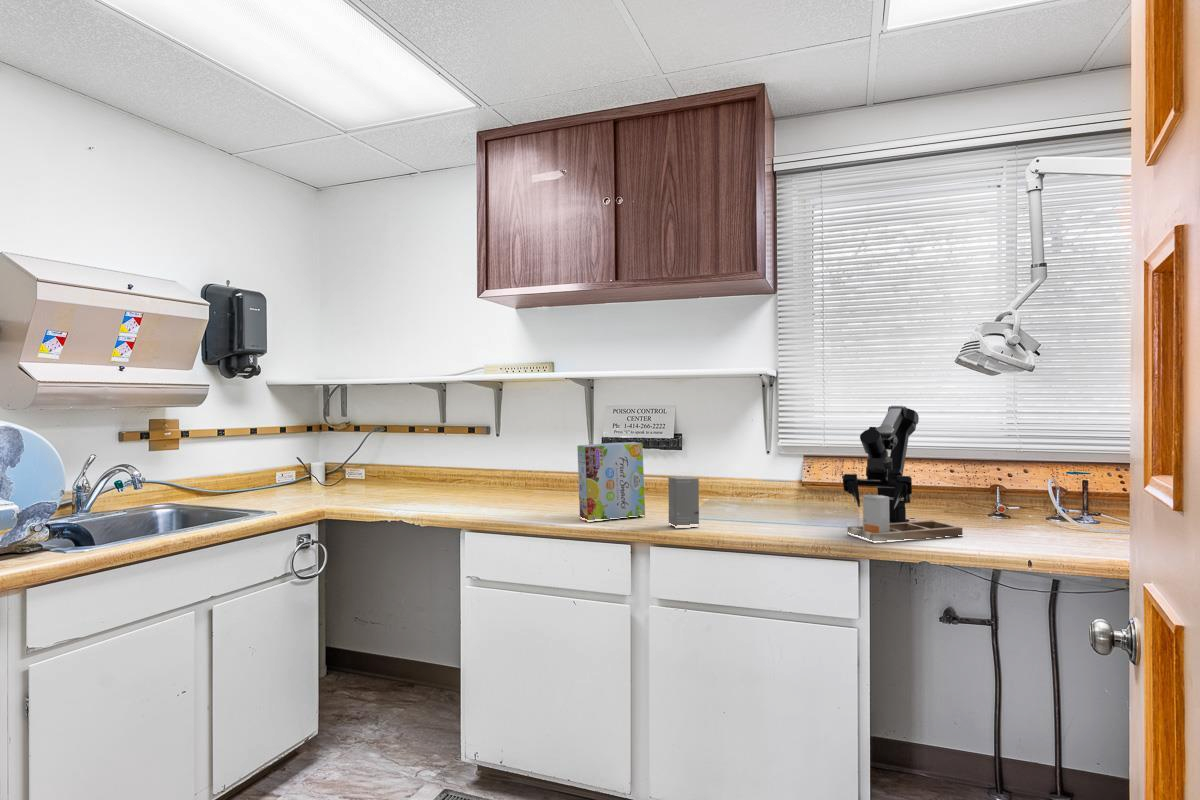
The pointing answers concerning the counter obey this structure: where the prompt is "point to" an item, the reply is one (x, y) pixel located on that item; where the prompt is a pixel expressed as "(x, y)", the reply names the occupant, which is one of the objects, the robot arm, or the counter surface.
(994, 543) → the counter surface
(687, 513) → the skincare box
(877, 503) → the skincare box
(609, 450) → the snack box
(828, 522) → the counter surface
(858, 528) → the brown compartment tray
